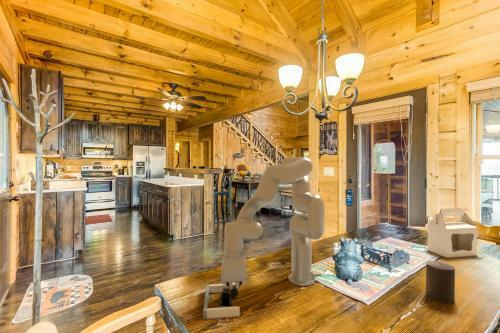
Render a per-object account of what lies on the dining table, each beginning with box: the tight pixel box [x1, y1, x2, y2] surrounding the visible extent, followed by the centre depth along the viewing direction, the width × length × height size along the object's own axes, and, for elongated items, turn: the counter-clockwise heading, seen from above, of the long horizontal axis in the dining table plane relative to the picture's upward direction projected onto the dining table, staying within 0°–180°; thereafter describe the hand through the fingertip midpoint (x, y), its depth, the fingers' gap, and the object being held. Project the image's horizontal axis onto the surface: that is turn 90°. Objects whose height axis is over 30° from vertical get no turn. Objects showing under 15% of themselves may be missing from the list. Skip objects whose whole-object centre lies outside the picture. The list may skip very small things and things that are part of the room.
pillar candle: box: [425, 260, 456, 304], centre depth 105 cm, size 10×10×15 cm
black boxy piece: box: [217, 288, 234, 308], centre depth 103 cm, size 12×7×5 cm, turn 179°
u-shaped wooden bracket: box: [202, 282, 241, 320], centre depth 101 cm, size 13×19×3 cm
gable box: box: [427, 207, 478, 258], centre depth 156 cm, size 22×13×28 cm, turn 99°
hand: (234, 297), depth 101 cm, fingers closed
